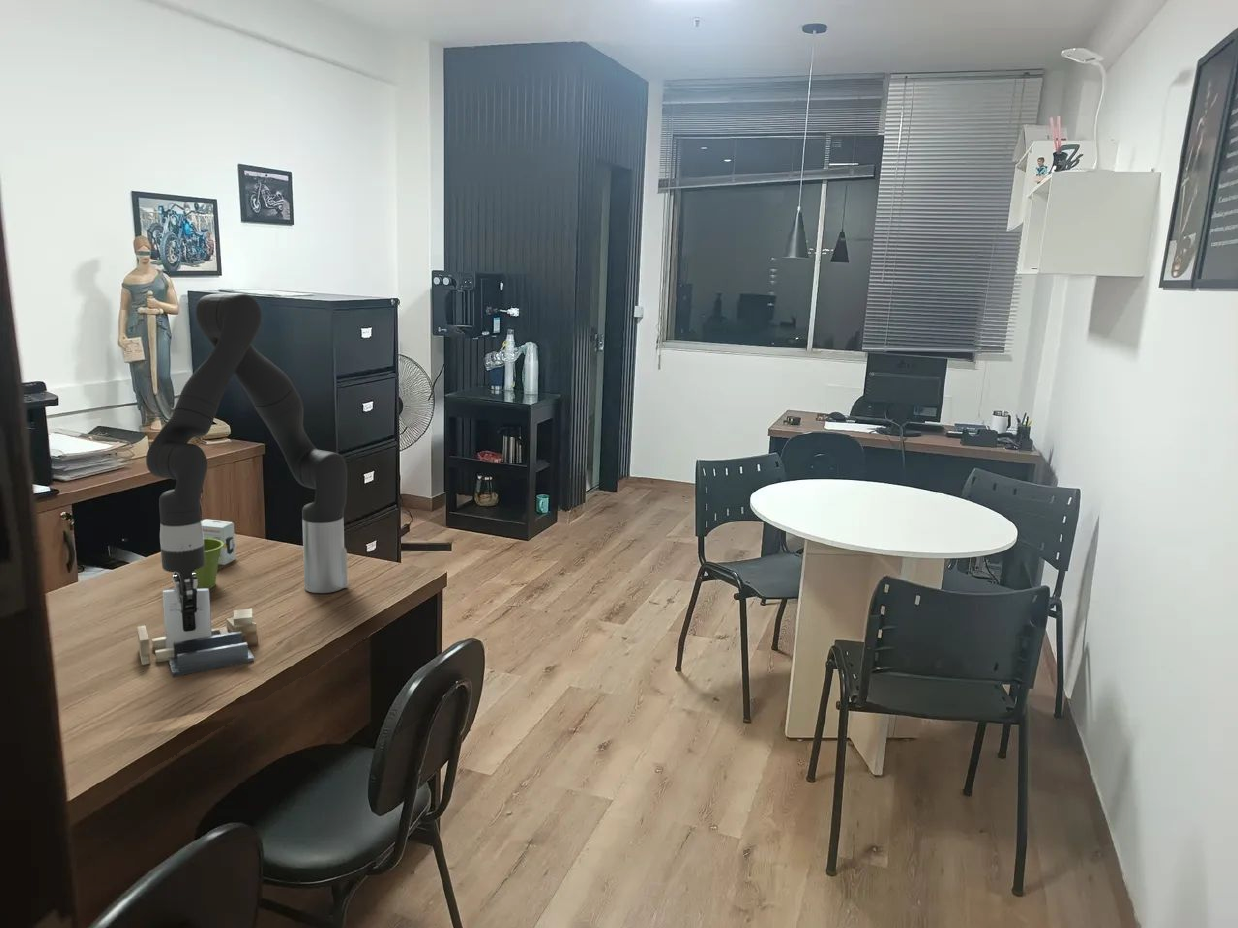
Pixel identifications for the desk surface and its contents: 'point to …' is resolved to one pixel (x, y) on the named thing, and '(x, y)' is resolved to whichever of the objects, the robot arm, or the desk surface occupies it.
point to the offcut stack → (243, 626)
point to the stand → (209, 653)
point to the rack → (161, 645)
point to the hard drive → (175, 617)
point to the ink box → (221, 538)
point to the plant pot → (209, 564)
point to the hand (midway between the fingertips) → (188, 627)
